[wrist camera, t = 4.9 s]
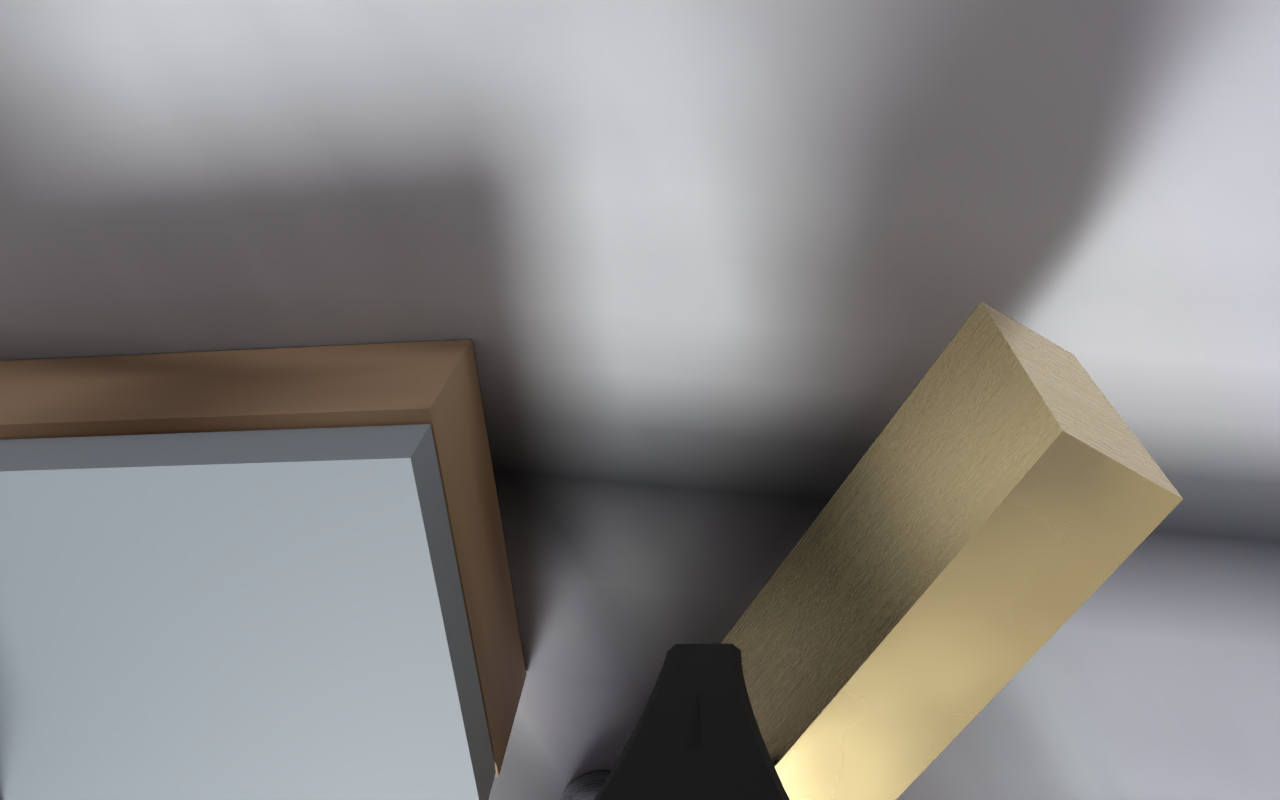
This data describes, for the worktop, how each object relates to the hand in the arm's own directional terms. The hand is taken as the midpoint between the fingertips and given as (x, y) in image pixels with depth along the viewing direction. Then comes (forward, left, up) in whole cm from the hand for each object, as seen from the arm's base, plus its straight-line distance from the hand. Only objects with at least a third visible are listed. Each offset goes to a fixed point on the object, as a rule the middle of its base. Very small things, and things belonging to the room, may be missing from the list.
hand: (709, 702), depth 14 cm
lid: (-9, 0, -2) cm, 9 cm away
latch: (+1, -2, -3) cm, 4 cm away
